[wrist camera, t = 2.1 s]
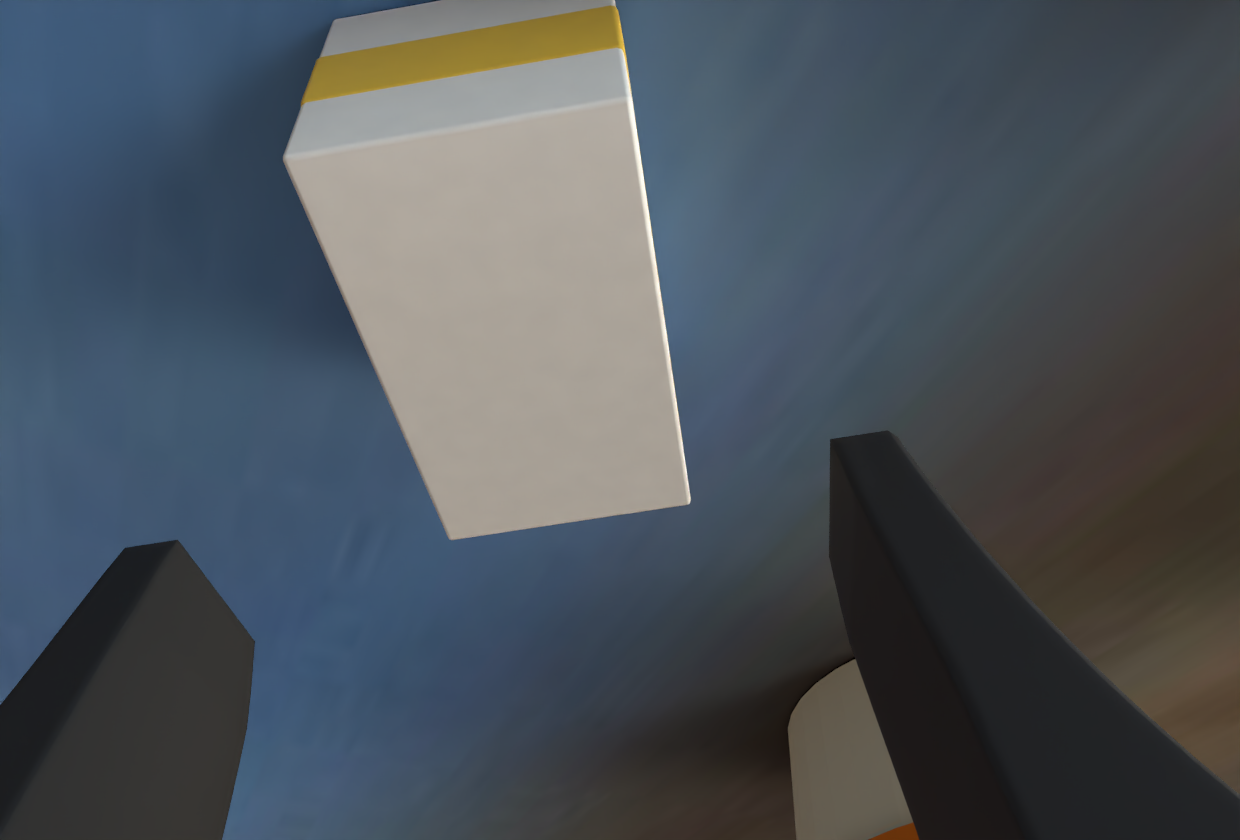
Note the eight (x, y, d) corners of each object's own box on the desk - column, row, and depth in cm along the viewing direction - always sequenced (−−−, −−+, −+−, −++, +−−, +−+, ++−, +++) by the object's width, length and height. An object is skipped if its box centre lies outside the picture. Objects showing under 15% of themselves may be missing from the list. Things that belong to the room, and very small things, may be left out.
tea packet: (609, -34, 13) (633, 94, 10) (666, 347, 18) (693, 506, 15) (329, 16, 14) (276, 157, 11) (460, 380, 18) (447, 543, 16)
